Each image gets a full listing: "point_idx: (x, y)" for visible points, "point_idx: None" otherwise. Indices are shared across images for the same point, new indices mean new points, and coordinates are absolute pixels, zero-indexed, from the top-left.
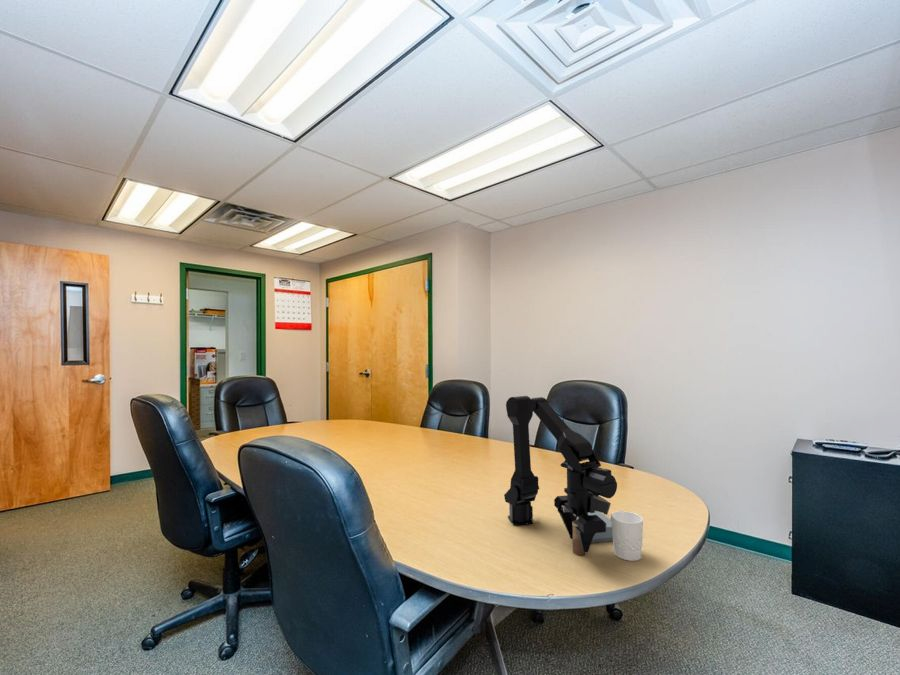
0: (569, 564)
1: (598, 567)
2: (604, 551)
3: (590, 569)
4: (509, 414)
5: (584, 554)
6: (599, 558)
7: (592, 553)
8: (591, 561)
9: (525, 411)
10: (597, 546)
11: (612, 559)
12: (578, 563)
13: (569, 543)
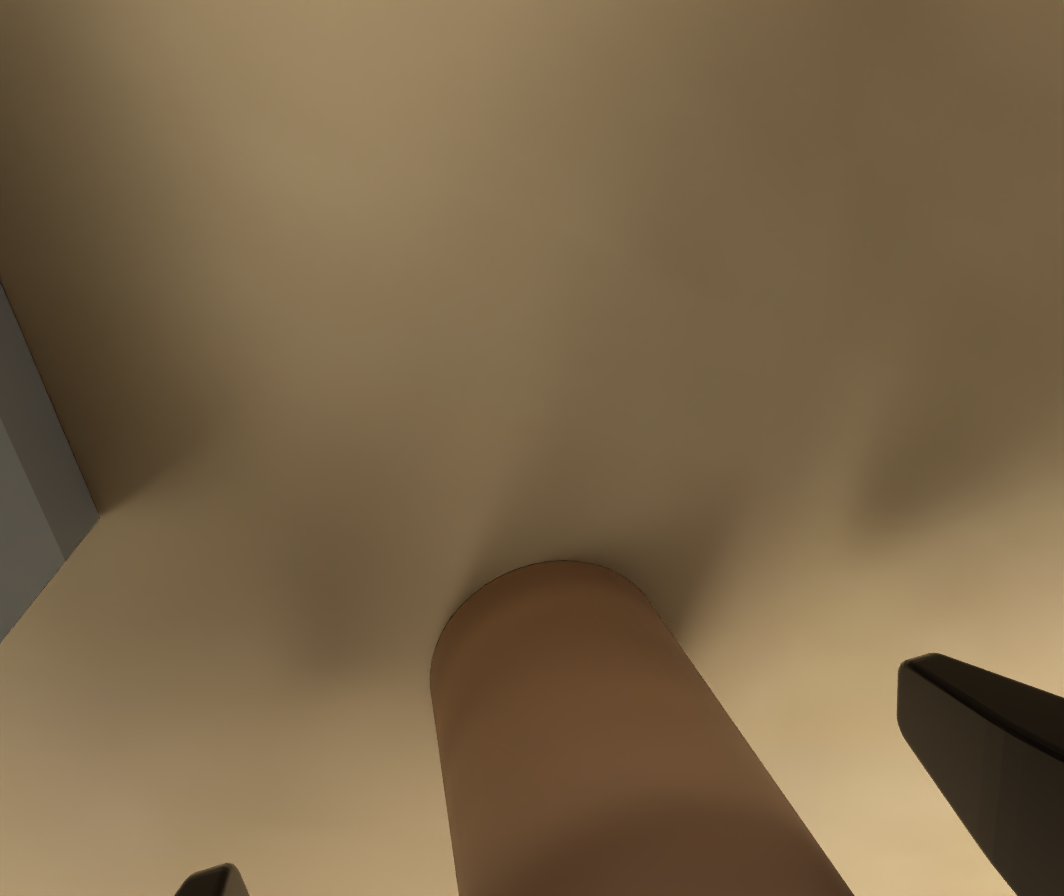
0: (879, 833)
1: (1048, 447)
2: (493, 82)
3: (1061, 583)
4: None
5: (640, 593)
6: (788, 332)
7: (582, 418)
8: (862, 514)
9: None
10: (212, 177)
11: (867, 40)
12: (879, 720)
13: (140, 795)
